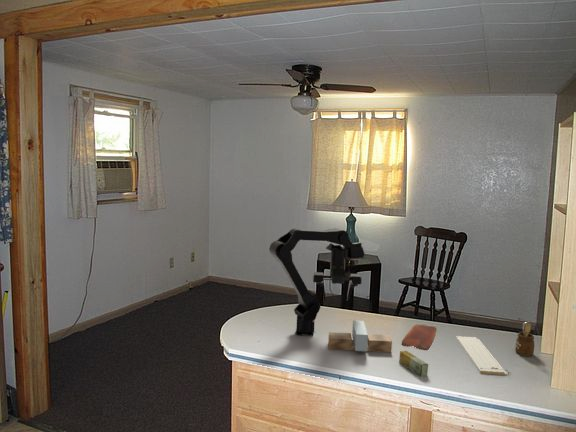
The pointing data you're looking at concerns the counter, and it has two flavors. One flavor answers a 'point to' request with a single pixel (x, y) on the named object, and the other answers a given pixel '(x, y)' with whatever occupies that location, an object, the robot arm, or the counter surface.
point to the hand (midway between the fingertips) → (336, 299)
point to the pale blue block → (359, 336)
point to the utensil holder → (525, 342)
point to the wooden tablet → (420, 336)
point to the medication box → (413, 363)
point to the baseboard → (480, 356)
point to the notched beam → (346, 343)
